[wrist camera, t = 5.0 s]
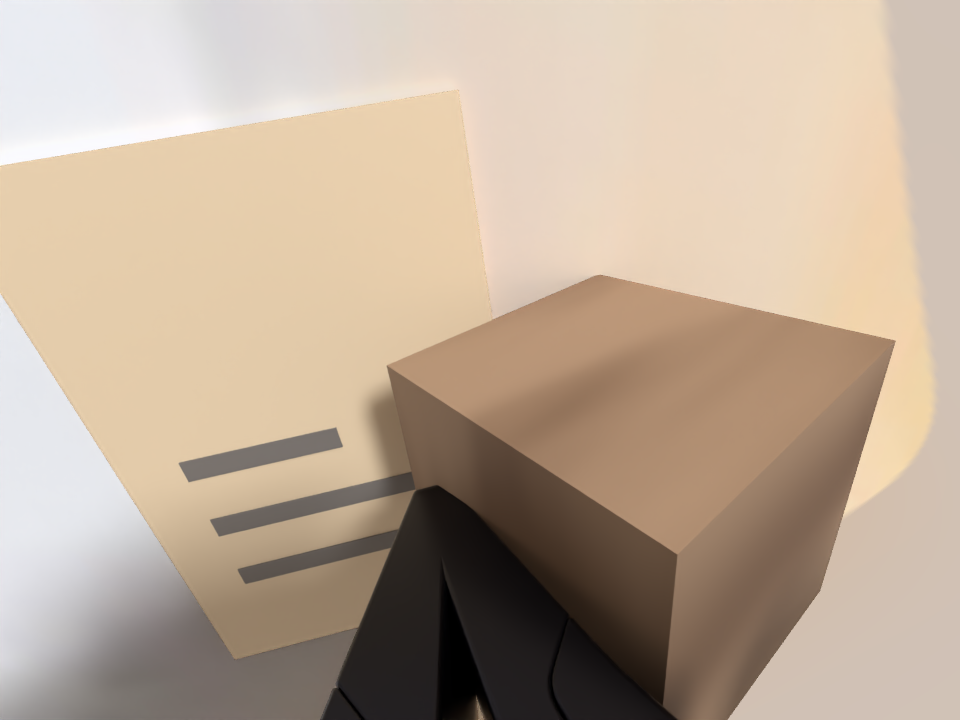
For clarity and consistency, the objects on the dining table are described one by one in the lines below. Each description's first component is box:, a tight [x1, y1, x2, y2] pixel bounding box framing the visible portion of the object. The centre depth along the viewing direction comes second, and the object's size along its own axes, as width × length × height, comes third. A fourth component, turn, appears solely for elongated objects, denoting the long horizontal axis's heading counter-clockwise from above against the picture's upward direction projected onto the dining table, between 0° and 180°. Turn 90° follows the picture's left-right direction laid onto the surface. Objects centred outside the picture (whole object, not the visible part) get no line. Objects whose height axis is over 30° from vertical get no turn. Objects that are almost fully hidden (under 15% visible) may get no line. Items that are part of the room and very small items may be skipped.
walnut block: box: [387, 275, 895, 720], centre depth 8 cm, size 5×5×5 cm
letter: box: [0, 90, 492, 660], centre depth 11 cm, size 12×8×1 cm, turn 8°
